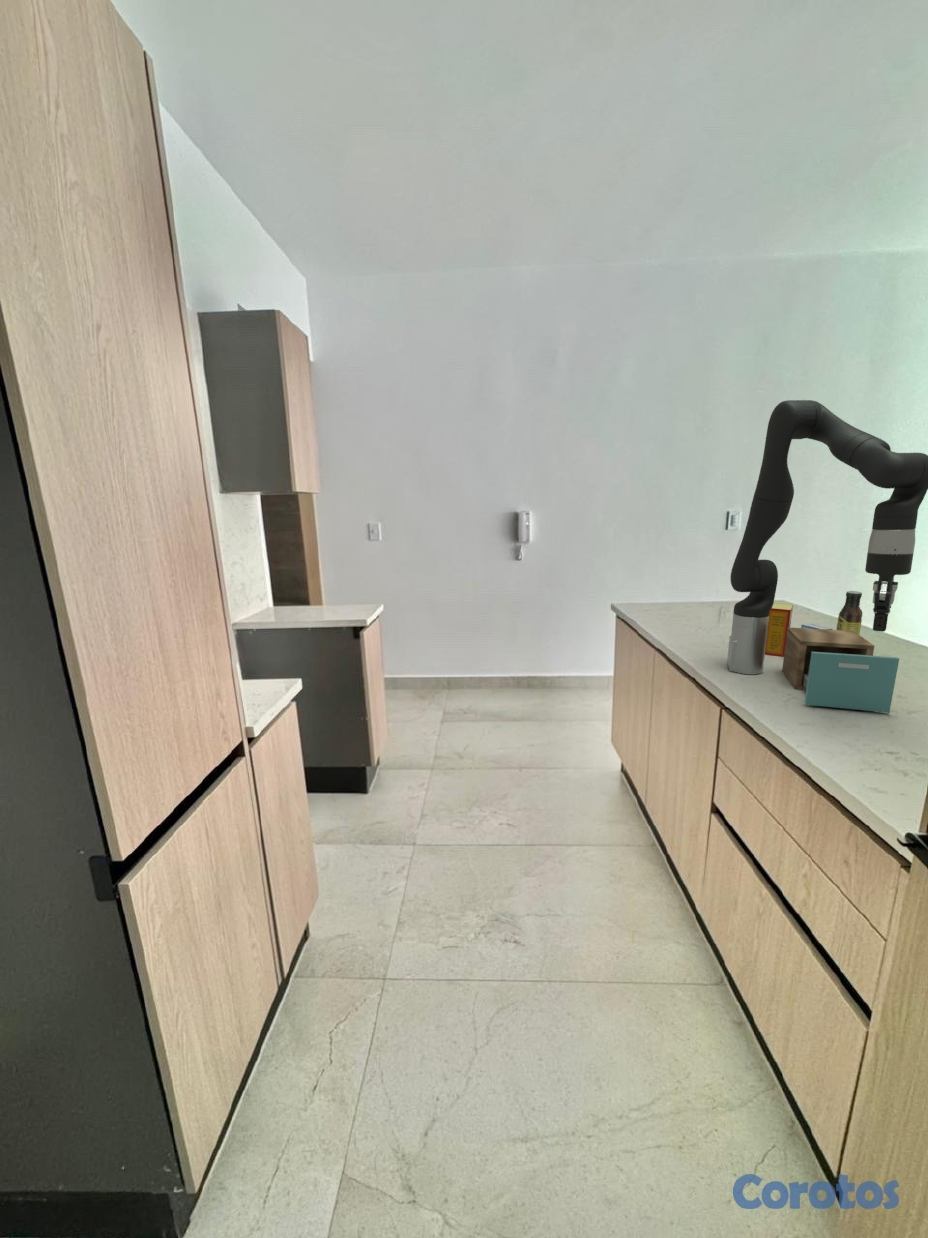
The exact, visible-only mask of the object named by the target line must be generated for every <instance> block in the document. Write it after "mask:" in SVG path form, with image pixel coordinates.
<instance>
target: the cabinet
mask: <svg viewBox="0 0 928 1238" xmlns="http://www.w3.org/2000/svg"><path fill="white" fill-rule="evenodd" d="M874 650H875V645H874V644H873V643H871V642H870V641H869V640H867V639H866V638H864V637H863V636H862V635H861V634H859V635H858V634H857V633H856V632H854V631H846V630H836V629H833V630H827V629H808V628H801V627H790V628H789V627H788V628H787V636H786V643H785V651H784V657H783V660H782V668H781V672H782V674H783V675H784V676H785V677H786V679H787V680H788V682H789V683H790V684H791V687H793V689H794V690H801V691H806V688H805V687H804V686H803V684H802V677H803V674H809V666H810V659H811V652H824V653H840V654H855V655H870V656H874Z"/></svg>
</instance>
